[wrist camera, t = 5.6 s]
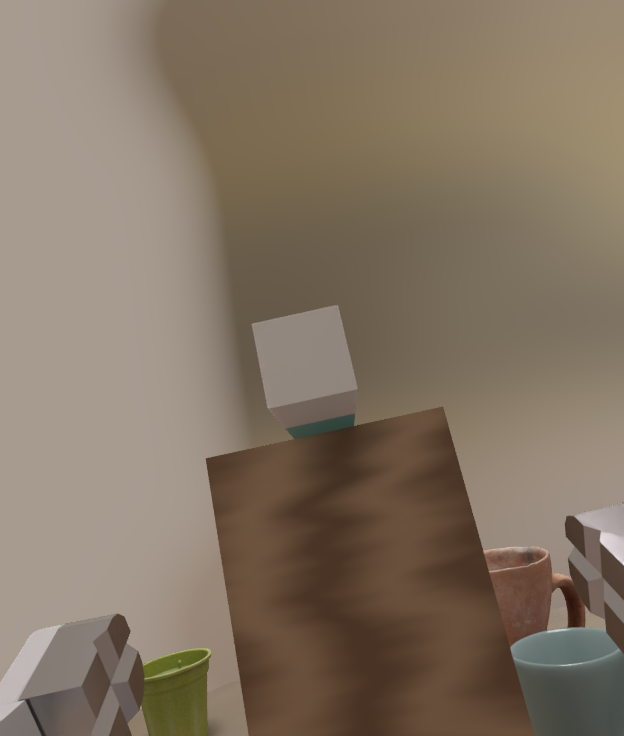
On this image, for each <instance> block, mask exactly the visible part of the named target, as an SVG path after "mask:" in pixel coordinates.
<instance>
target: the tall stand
mask: <svg viewBox="0 0 624 736" xmlns="http://www.w3.org/2000/svg"><path fill="white" fill-rule="evenodd" d="M206 463H207V470H208V476H209V482H210V489H211V495H212V501H213V508H214V514H215V521H216V527H217V534H218V540H219V546H220V553H221V559H222V566H223V572H224V579H225V585H226V591H227V598H228V604H229V610H230V616H231V624H232V629H233V636H234V643H235V649H236V655H237V662H238V668H239V675H240V681H241V688H242V694H243V701H244V707H245V713H246V720H247V726H248V733H249V736H535V735H534V731H533V728H532V724H531V721H530V717H529V713H528V710H527V706H526V703H525V699H524V695H523V692H522V688H521V685H520V681H519V678H518V674H517V670H516V667H515V663H514V660H513V656H512V652H511V649H510V645H509V642H508V638H507V635H506V631H505V627H504V624H503V620H502V617H501V613H500V609H499V606H498V602H497V599H496V595H495V591H494V588H493V584H492V581H491V577H490V574H489V570H488V566H487V563H486V559H485V556H484V552H483V548H482V545H481V541H480V538H479V534H478V531H477V527H476V524H475V520H474V516H473V513H472V509H471V505H470V502H469V498H468V495H467V491H466V488H465V484H464V480H463V477H462V473H461V470H460V466H459V462H458V459H457V455H456V452H455V448H454V445H453V441H452V437H451V434H450V430H449V427H448V423H447V419H446V416H445V412H444V409H443V407H439V408H435V409H430V410H426V411H421V412H416V413H412V414H407V415H403V416H398V417H393V418H389V419H384V420H380V421H375V422H371V423H366V424H361V425H357V426H352V427H348V428H343V429H339V430H334V431H329V432H325V433H320V434H316V435H311V436H307V437H302V438H297V439H293V440H288V441H284V442H279V443H275V444H270V445H265V446H261V447H256V448H252V449H247V450H243V451H238V452H234V453H229V454H224V455H220V456H215V457H211V458H206Z"/></svg>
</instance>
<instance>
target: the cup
mask: <svg viewBox="0 0 624 736" xmlns="http://www.w3.org/2000/svg"><path fill="white" fill-rule="evenodd" d="M510 649H511V652H512V656H513V660H514V663H515V667H516V670H517V674H518V678H519V681H520V685H521V688H522V692H523V695H524V699H525V703H526V706H527V710H528V713H529V717H530V721H531V724H532V728H533V731H534V735H535V736H624V654H623V653H622V651H621V650H620V649H619V648H618V646H617V645H616V644H615V643H614V641H613V640H612V639H611V638H610V636H609V635H608V634H607V633H606V630H605V629H598V628H584V627H581V628H560V629H552V630H547V631H543V632H539V633H535V634H532V635H530V636H527V637H525V638H523V639H520V640H519V641H517V642H515V643H514V644H513V645H512V646H511V647H510Z"/></svg>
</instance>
